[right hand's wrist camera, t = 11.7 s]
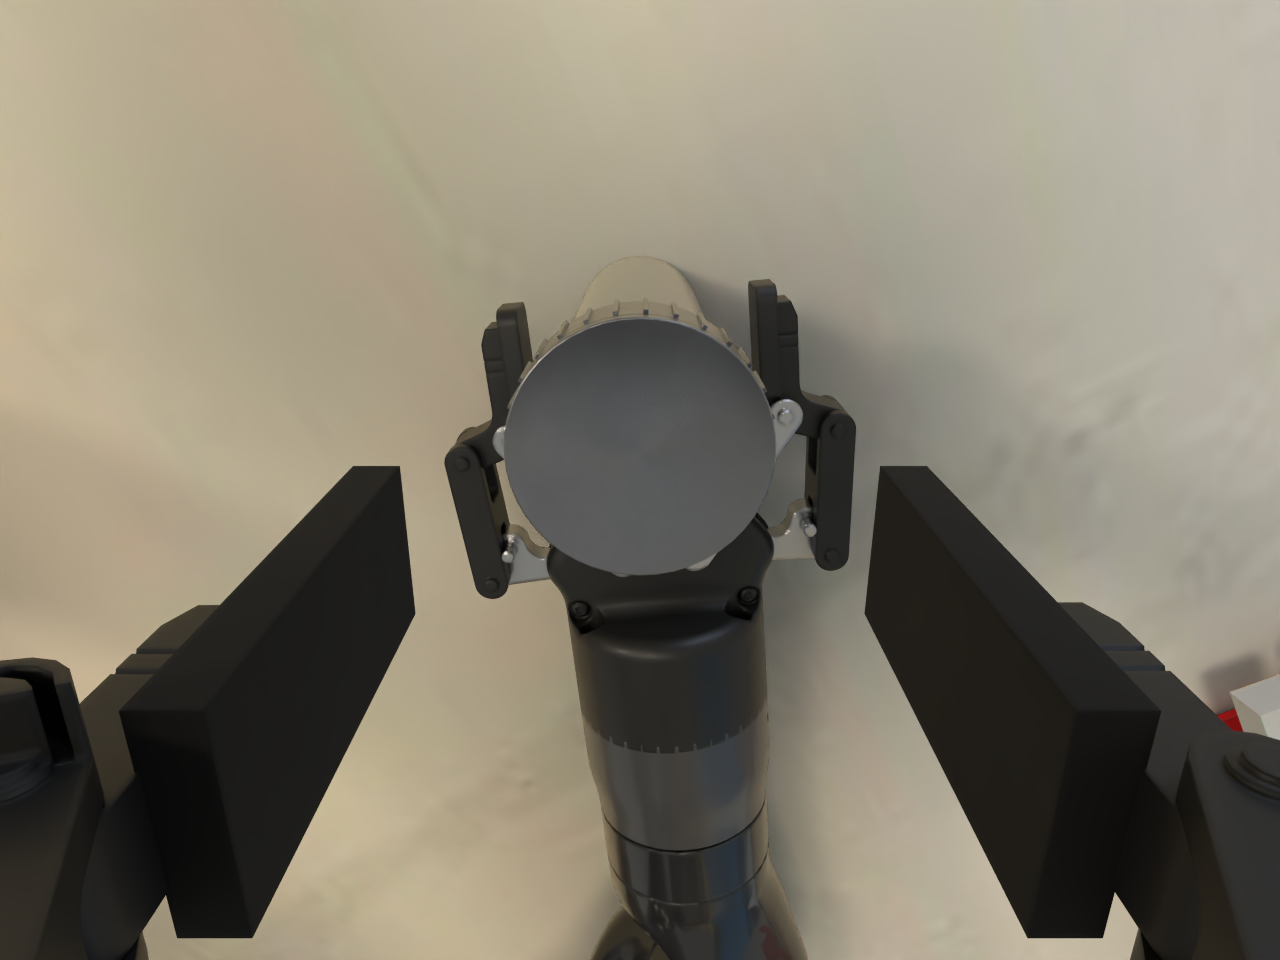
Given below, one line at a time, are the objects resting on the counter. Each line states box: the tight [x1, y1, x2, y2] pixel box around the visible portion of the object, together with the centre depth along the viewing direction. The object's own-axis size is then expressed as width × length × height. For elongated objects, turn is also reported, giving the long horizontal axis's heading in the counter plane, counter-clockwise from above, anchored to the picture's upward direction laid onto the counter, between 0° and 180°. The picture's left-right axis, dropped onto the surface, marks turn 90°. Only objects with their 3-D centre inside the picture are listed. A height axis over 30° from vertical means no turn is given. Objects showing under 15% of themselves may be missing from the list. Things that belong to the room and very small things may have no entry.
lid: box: [503, 298, 777, 576], centre depth 19 cm, size 6×6×2 cm
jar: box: [575, 256, 705, 319], centre depth 27 cm, size 5×5×18 cm
